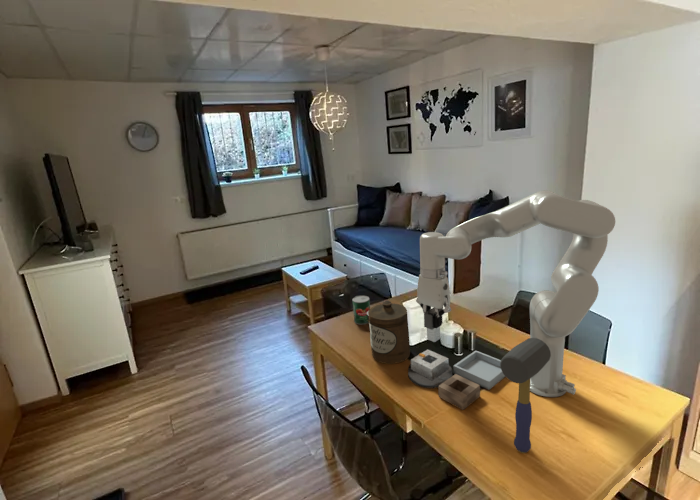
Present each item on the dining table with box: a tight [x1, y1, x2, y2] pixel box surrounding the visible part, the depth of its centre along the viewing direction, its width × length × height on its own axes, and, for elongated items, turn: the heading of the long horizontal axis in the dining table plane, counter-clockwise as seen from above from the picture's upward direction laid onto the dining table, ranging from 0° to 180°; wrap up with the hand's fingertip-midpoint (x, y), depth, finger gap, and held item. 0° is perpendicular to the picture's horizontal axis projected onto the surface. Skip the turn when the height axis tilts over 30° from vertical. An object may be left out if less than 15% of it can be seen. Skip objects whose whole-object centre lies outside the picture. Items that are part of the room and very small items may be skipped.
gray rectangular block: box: [423, 307, 441, 343], centre depth 126 cm, size 6×3×10 cm, turn 131°
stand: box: [437, 374, 481, 411], centre depth 122 cm, size 9×9×4 cm
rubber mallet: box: [500, 337, 551, 454], centre depth 96 cm, size 12×8×30 cm, turn 130°
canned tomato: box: [352, 295, 371, 326], centre depth 179 cm, size 8×8×11 cm
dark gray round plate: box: [407, 363, 453, 389], centre depth 134 cm, size 15×15×2 cm
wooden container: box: [368, 300, 411, 365], centre depth 147 cm, size 15×15×22 cm
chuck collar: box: [410, 349, 450, 380], centre depth 133 cm, size 9×9×4 cm
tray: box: [452, 350, 506, 391], centre depth 133 cm, size 14×14×3 cm
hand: (433, 324), depth 126 cm, fingers closed on gray rectangular block, 3 cm apart
